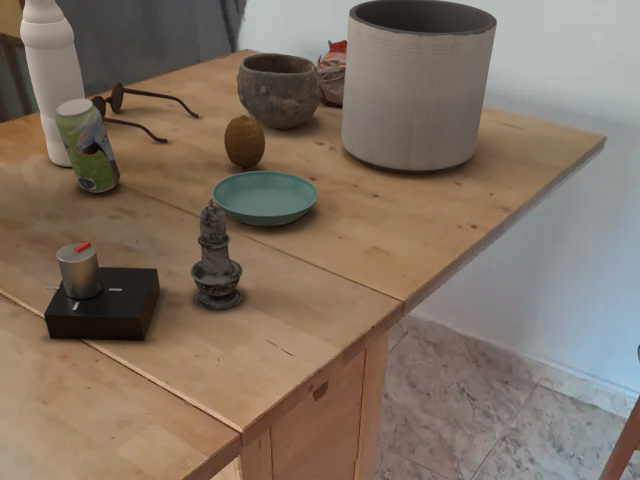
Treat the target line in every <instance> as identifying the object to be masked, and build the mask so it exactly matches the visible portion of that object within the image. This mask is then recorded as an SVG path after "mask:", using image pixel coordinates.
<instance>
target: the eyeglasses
mask: <svg viewBox="0 0 640 480" xmlns="http://www.w3.org/2000/svg"><path fill="white" fill-rule="evenodd" d="M124 94H130V95H137V96H142V97H143V96H144V97H152V98H160V99H164V100H165V99H167V100H171V101H175V102H177V103H179V104H180V106H182V107H183V109H184V110H185V111H186V112H187V113H188V114H189V115H190V116H192V117H194V118H196V119H197V118H199V117H200V116H199V114H198V113H196V112H194V111H192V110H191V109H190V108H189V107H188V106H187V104H186V103H184V101H183V100H181V98H178V97H176V96H174V95H173V96H172V95H168V94H164V93H157V92H153V91H146V90H141V89H134V88H128V87H124V86H123V84H122V83H121V81H120V82H119V81H117V82H115V84H114V85H113V87H112V90H111V94H110V96H107V97H105V98H104V97H103V96H101V95H99V94H98V95H94V96H93V97H92V98H91V99H90V100H91V101H92V103H93V105H94V106H96V107H97V108H98V110H99V111H100V114H101V117H102V120H103V123H108V124H114V125H123V126H129V127H134V128H138V129H140V130H142V131H144V133H146V134H147V135H148V136H149V137H150V138H151V139H152V140H154V141H155V142H157V143H164V144H165V143H168V142H169V141H168V139H167V138H162V137H158V136H156V135H155V134H154V133H153V132H151V130H149V128H147V127H146V126H145V125H142V124H140V123H137V122H133V121H126V120H121V119H116V118H111V117H106V115H107V114H106V113H107V103H108V104H109V106H110V110H111V111H112V113H113V114H118V113H119V112H120V110H121V108H122V105H123V102H124Z"/></svg>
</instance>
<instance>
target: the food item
mask: <svg viewBox="0 0 640 480" xmlns="http://www.w3.org/2000/svg"><path fill="white" fill-rule="evenodd" d="M327 44H328V47H329V49H328V51H327V52H326V53H325V55H324V56H323V58H322V54H320V56H319V57H318V58H317V62H316V65H315V67H316V70H317V73H318V76H319V78H320V80H321V81H322V86H321V93H320V101H319V103H321V104H325V105H329V106H334V107H339V108H343V98H344V84H345V69H346V54H347V39H342V40H340V41H337V42H332V41H331V40H330V39H328V40H327Z"/></svg>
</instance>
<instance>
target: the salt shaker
mask: <svg viewBox="0 0 640 480" xmlns="http://www.w3.org/2000/svg"><path fill="white" fill-rule="evenodd" d="M226 219H227V217H226V212H224V211H223V210H222V209H221V208H220V207H219V206H218V205H215V201H214V200H213V198H212V199H209V201H208V202H207V206H205V207H203V208H202V209H201V210H200V211H199V214H198V221H199V223H198V224H199V233H200V235H199V236H198V237H197V244H198V245H199V246H200V251H201V259H200V260H198V261H197V262H195V263H194V264H193V265H192V266H191V268H190V272H189V273H190V276H191V278H192V279H193V281H194V283H195V285H196V287H197V289H199V290H198V292H197V293H196V295H195V301H196V303H197V304H198V305H199V306H200V307H201V308H204V309H207V310H211V311H222V310H228V309H231V308H233V307H236V306H237V305H238V304H239V303H240V302H241V300H242V293H241V292H240V290H239V289H238V288H237V286H238V285H239V282H240V279H241V276H242V275H243V272H244V271H243V270H244V269H243V266H242V265H241V264H240V263H239V262H238V261H236V260H234V259H231V257H230V254H229V253H230V252H229V244H230V243H231V237H230V235H229V234H228V233H227V232H228V231H227V221H226Z"/></svg>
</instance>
